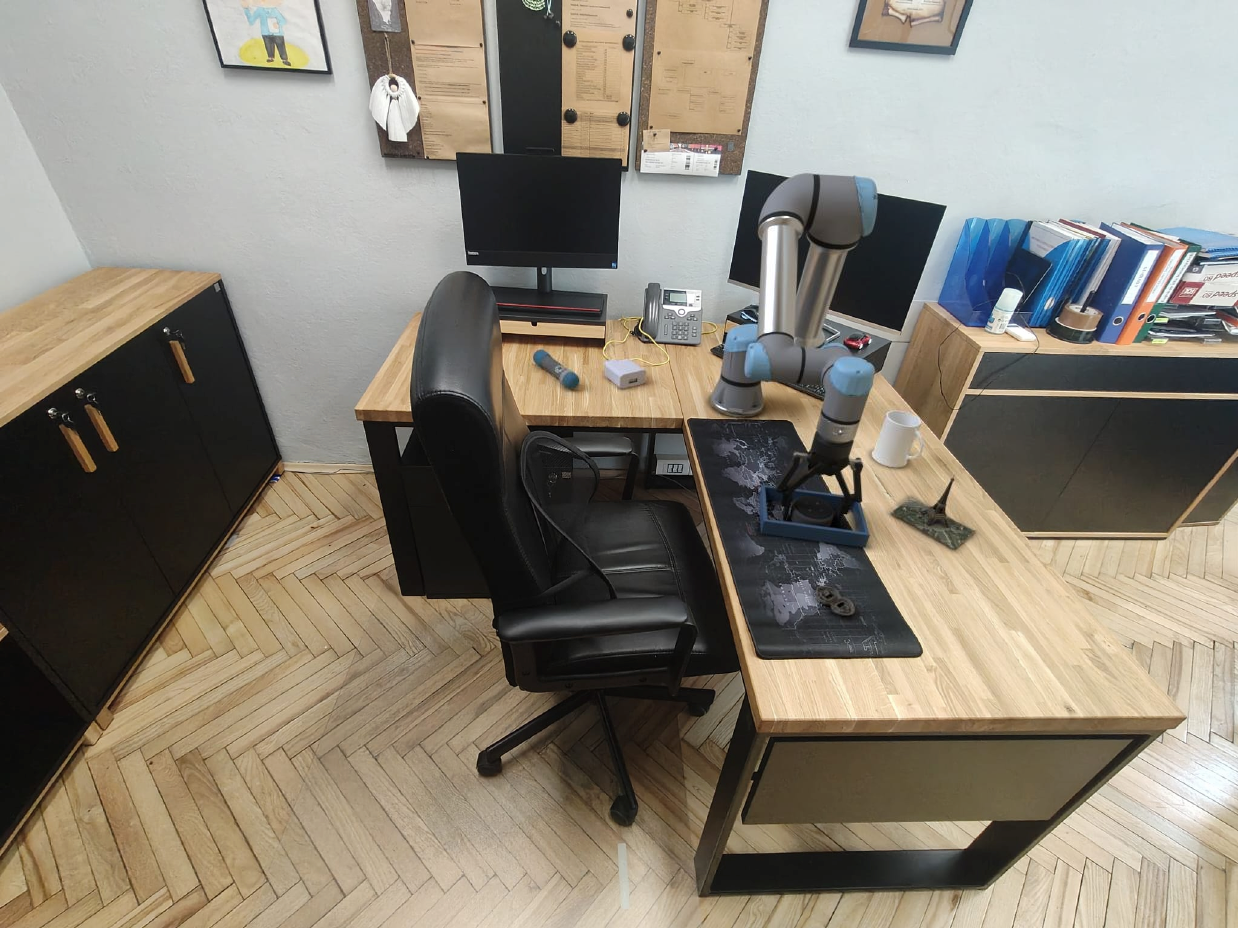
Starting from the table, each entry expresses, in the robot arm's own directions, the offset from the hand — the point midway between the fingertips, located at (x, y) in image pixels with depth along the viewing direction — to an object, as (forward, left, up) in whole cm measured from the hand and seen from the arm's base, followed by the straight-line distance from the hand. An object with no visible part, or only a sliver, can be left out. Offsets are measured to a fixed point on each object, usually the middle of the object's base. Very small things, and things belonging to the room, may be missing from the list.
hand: (809, 520), depth 130 cm
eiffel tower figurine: (-5, +27, 0) cm, 27 cm away
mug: (-29, +24, 0) cm, 38 cm away
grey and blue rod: (-55, -71, 0) cm, 90 cm away
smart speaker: (0, 0, 0) cm, 0 cm away
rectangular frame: (0, 0, 0) cm, 0 cm away
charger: (-60, -52, 0) cm, 80 cm away
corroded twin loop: (+24, +2, 0) cm, 24 cm away
